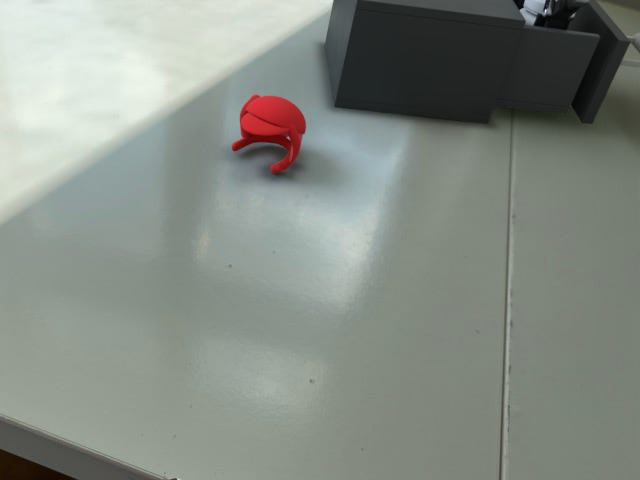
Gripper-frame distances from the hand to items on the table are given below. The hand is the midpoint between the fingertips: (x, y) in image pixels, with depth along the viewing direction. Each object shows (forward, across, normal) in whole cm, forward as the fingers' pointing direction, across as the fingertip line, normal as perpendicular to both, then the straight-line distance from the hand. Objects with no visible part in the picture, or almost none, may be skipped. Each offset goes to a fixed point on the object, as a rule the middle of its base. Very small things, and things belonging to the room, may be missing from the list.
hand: (532, 40), depth 80 cm
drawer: (+5, 0, -3) cm, 6 cm away
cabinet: (+6, 0, +12) cm, 14 cm away
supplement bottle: (+4, 0, 0) cm, 4 cm away
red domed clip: (+6, -18, +27) cm, 33 cm away
